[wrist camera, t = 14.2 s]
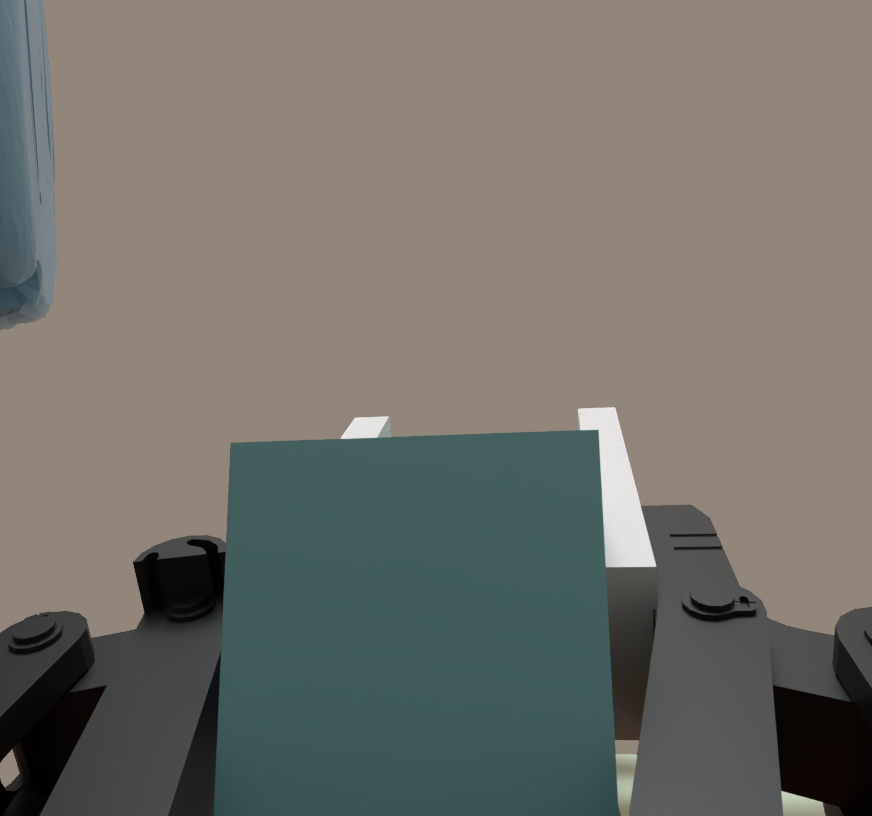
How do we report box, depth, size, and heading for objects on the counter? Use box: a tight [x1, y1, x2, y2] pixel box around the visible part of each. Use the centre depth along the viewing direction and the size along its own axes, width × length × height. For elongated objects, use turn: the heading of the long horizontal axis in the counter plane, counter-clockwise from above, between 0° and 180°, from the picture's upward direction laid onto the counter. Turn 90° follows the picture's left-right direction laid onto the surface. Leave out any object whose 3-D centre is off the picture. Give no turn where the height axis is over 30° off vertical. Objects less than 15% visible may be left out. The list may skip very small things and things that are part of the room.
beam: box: [214, 430, 619, 816], centre depth 22 cm, size 30×4×4 cm, turn 171°
